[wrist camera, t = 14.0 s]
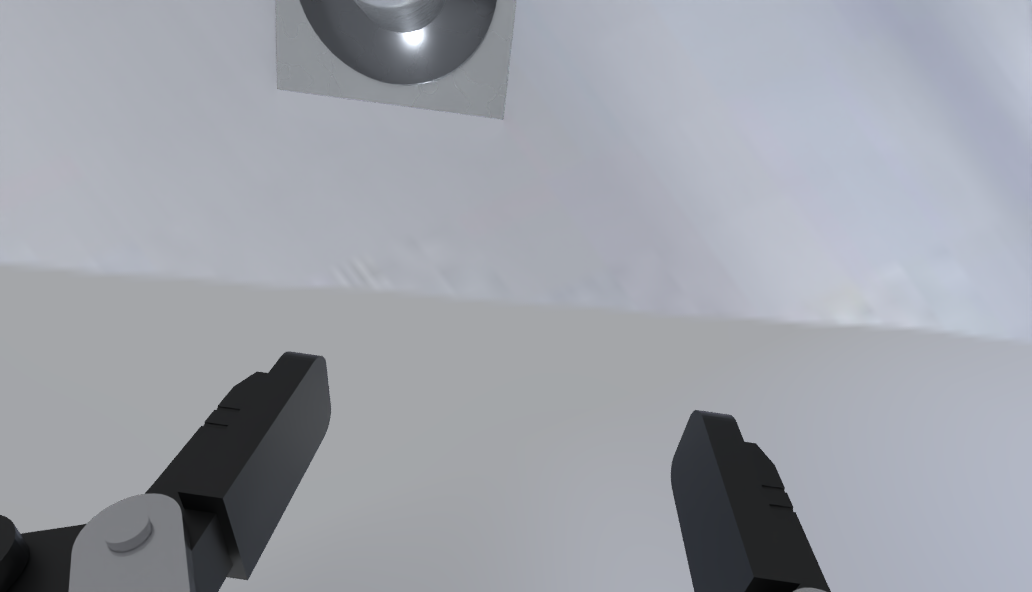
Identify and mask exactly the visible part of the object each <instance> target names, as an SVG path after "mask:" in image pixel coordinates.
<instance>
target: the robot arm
mask: <svg viewBox="0 0 1032 592" xmlns="http://www.w3.org/2000/svg"><path fill="white" fill-rule="evenodd" d="M330 415H331V403H330V396H329V386H328V376H327V367H326V361H325V359H324V357H323V356H317V355H310V354H303V353H296V352H286V353H284V354H283V355H282V356H281V357H280V359H279V360H278V361H277V362H276V364H275V365H274V366H273V368H272V369H271V370H270V372H269V373H263V372H256V373H254V374H253V375H251V376H249V377H248V378H247V379H245V380H243V381H242V382H240V383H239V384H237V385H236V386H234V387H233V388H232V390H231V391H230V392H229V393H228V394H227V396H226V397H225V398H224V399H223V400H222V401H221V403H220V404H219V405H218V408H217V410H214V411H213V412H212V414H211V415H210V416H209V417H208V418H207V420H206V421H205V424H204V426H201V427H200V428H199V429H198V431H197V432H196V433H195V434H194V435H193V437H192V438H191V439H190V440H189V442H188V443H187V444H186V445H185V446H184V447H183V449H182V450H181V451H180V452H179V454H178V455H177V456H176V457H175V458H174V460H173V461H172V462H171V463H170V464H169V466H168V467H167V468H166V469H165V471H164V472H163V473H162V474H161V475H160V477H159V478H158V479H157V480H156V481H155V483H154V484H153V485H152V486H151V487H150V488H149V490H148V491H147V492H146V493H145V494H141V495H136V496H133V497H129V498H126V499H124V500H121V501H119V502H117V503H115V504H113V505H111V506H109V507H107V508H106V509H104V510H103V511H101V512H100V513H99V514H97V515H96V516H95V517H94V518H92V520H91V521H89V522H88V523H87V524H83V525H78V526H71V527H64V528H57V529H50V530H44V531H37V532H30V533H24V534H20V533H19V531H18V530H17V528H16V527H15V525H14V524H13V522H12V521H11V520H10V519H8V518H7V517H4V516H2V515H0V592H218V591H219V589H220V587H221V586H222V584H223V582H224V580H225V579H226V577H230V578H237V579H244V580H248V579H249V577H250V575H251V573H252V571H253V569H254V567H255V566H256V564H257V562H258V560H259V558H260V556H261V554H262V552H263V551H264V549H265V547H266V545H267V543H268V541H269V539H270V538H271V535H272V534H273V532H274V530H275V528H276V526H277V524H278V522H279V521H280V519H281V517H282V515H283V513H284V511H285V509H286V507H287V505H288V503H289V502H290V500H291V498H292V496H293V494H294V492H295V490H296V489H297V487H298V485H299V483H300V481H301V479H302V477H303V476H304V473H305V472H306V470H307V468H308V466H309V464H310V462H311V461H312V459H313V457H314V455H315V453H316V451H317V449H318V447H319V446H320V444H321V442H322V440H323V438H324V436H325V434H326V431H327V429H328V425H329V421H330ZM671 484H672V490H673V495H674V499H675V504H676V508H677V513H678V518H679V523H680V527H681V532H682V537H683V541H684V546H685V550H686V555H687V560H688V564H689V569H690V573H691V578H692V582H693V587H694V592H831V591H830V589H829V587H828V585H827V583H826V580H825V578H824V576H823V574H822V572H821V569H820V567H819V565H818V562H817V560H816V558H815V556H814V554H813V551H812V549H811V546H810V544H809V542H808V540H807V538H806V535H805V533H804V531H803V529H802V526H801V524H800V522H799V519H798V517H797V515H796V513H795V512H793V506H792V503H791V501H790V499H789V497H788V494H787V493H785V491H784V485H783V483H782V481H781V479H780V476H779V474H778V472H777V470H776V467H775V465H774V464H773V463H772V462H771V460H770V459H769V458H768V457H767V456H766V455H765V454H764V452H763V451H762V450H761V449H760V448H759V447H758V445H757V444H755V443H749V442H744V440H743V437H742V435H741V432H740V430H739V427H738V425H737V422H736V420H735V419H734V417H733V416H732V415H727V414H720V413H713V412H706V411H699V410H695V411H694V412H693V413H692V414H691V416H690V418H689V421H688V423H687V425H686V428H685V430H684V433H683V435H682V438H681V440H680V443H679V445H678V447H677V450H676V452H675V455H674V458H673V461H672V467H671Z"/></svg>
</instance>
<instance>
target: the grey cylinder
mask: <svg viewBox="0 0 1032 592" xmlns="http://www.w3.org/2000/svg"><path fill="white" fill-rule="evenodd" d="M354 1H355V3H356V4H357V5H358V6H359V7H360V8H361V9H362V11H363V12H364V13H365V14H366V15H367V16H368V17H369V18H370V19H371V20H372V21H373V22H375V23H376V24H377V25H379V26H381V27H383V28H385V29H387V30H390V31H394V32H400V33H408V32H414V31H417V30H420V29H422V28H424V27H426V26H427V25H429V24H430V23H431V22H432V21H433V20H434V19H435V18H436V17H437V16H438V15H439V13H440V12H441V10H442V8H443V6H444V4H445V1H446V0H354Z"/></svg>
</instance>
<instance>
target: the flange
mask: <svg viewBox="0 0 1032 592" xmlns="http://www.w3.org/2000/svg"><path fill="white" fill-rule="evenodd" d="M515 9H516V0H446V1H445V4H444V6H443V8H442V10H441V12H440V13H439V15H438V16H437V17H436V18H435V19H434V20H433V21H432V22H431V23H430V24H429V25H427V26H426V27H424V28H422V29H420V30H417V31H414V32H408V33H400V32H394V31H390V30H387V29H385V28H383V27H381V26H379V25H377V24H376V23H375V22H373V21H372V20H371V19H370V18H369V17H368V16H367V15H366V14H365V13H364V12H363V11H362V9H361V8H360V7H359V6H358V5H357V4H356V3H355V1H354V0H276V47H277V89H279V90H285V91H292V92H300V93H307V94H315V95H322V96H329V97H337V98H344V99H352V100H359V101H367V102H374V103H382V104H389V105H397V106H404V107H412V108H419V109H426V110H434V111H441V112H449V113H456V114H464V115H471V116H479V117H486V118H494V119H501V120H503V117H504V108H505V99H506V90H507V81H508V72H509V63H510V54H511V45H512V36H513V27H514V18H515Z"/></svg>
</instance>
